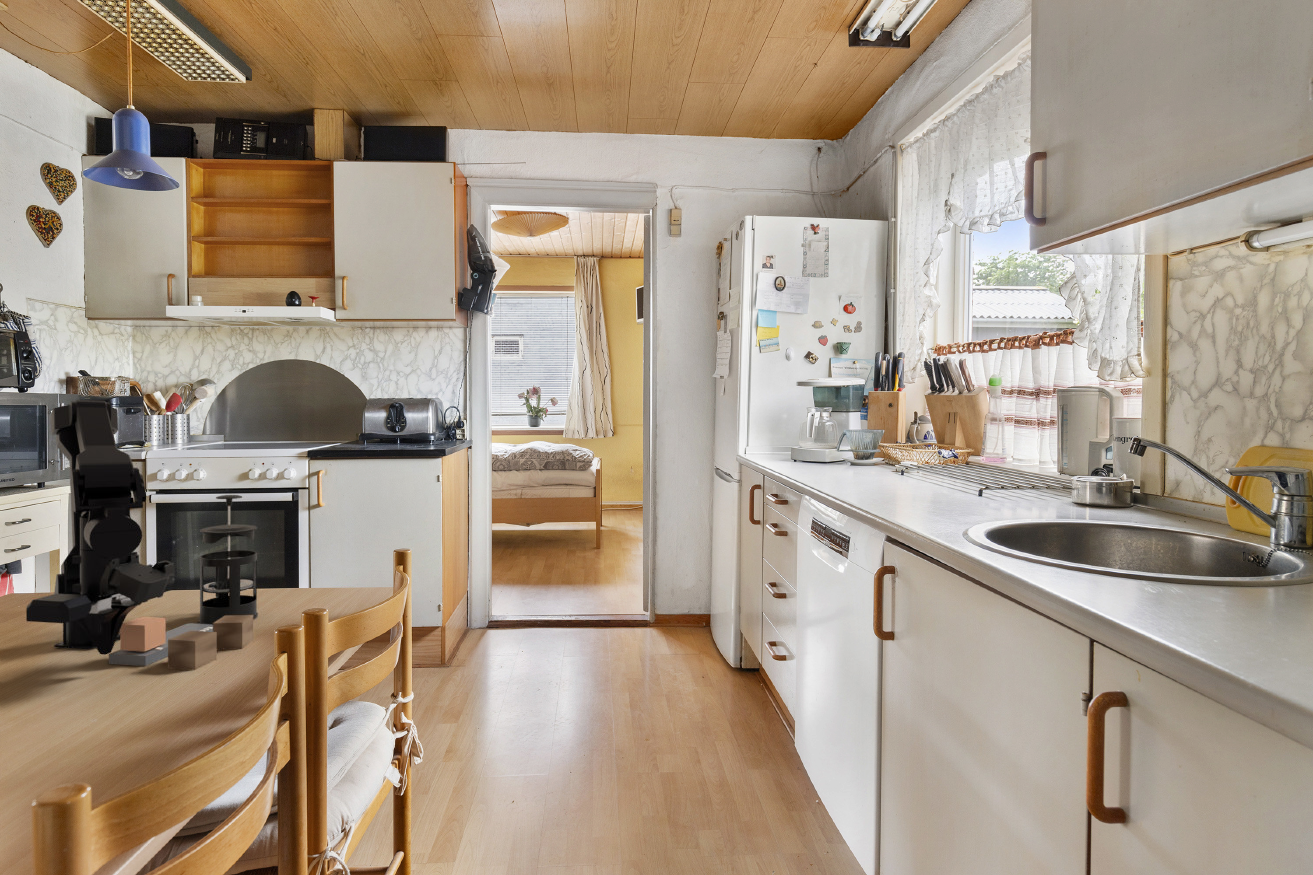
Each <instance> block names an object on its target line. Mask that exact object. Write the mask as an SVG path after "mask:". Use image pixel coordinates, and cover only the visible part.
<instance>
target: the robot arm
mask: <svg viewBox="0 0 1313 875" xmlns="http://www.w3.org/2000/svg"><path fill="white" fill-rule="evenodd" d="M118 411H119V410H118V409H117V408H115V407H114V406H112V405H111V403H110V402H108V401H105V400H91V399H90V400H85V399H84V400H83V399H82V400H81V399H76V400H74V401H69V403H68V404H66V405H62V406H57V407H54V408H53V409H52V412H51V415H50V434H51V435H53V436H54V435H55V438H56V447H57V449H58V450H59V451H60V452H61V453H62V454H63V455H64V457H65V458H66V459H67V460H68V461H69V486H70V487H69V488H70V511H71V512H70V513H71V540H72V548H71V550H70V551H69V553H68V554H67V556H66V558H65V559H64V560H63V562H62V563H61V565H60V573H58V574H57V573H56V576H55V577H56V578H55V583H54V584H55V585H54V593H53V594H48V595H46V596H42V597H39V598H35V599H32V600H31V601H30V602H29V603H28V604H27V605H26V607H25V608H26V612H25V614H26V615H25V616H26V617H25V620H26V622H33V623H34V622H35V623H51V624H62V639H63V640H62V641H59V642H56V643H54V644H53V648H59V649H60V648H61V649H76V650H92V649H96V651H98V653H99V655H104V656H105V655H109V654H110V653H112V651H113V649H114V647H115V646H114V645H115V644H116V641H117V640H119V639H120V640H121V633H120V629H121V626H122V624H123V623H125V620H126V618H127V616H128V614H129V613H131V611H133V610H134V609H135V608H137V607H138V606H141V605H142V604H143V603H147V602H148V601H150V600H153V599H156V598H157V599H159V598H162V597H163V596H164V593H166V592H170V591H172V590H173V584H174V583H175V580H176V579H175V577H176V571H175V570H176V569H175V563H174V562H171V561H169V560H166V559H165V560H162V561H158V562H156V563H155V564H154V565H153V564H150V563H149V564H147V565H145V564H142V563H141V562H140V555H139V554H138V551H136V550H137V549H138V547H139V546H140V544H141V543H142V540H143V539H142V538H143V530H142V528H141V526H140V524H139V523H137V521H135V520H134V519H133V518H132V517H131V510H134V509H143V508H144V503H146V501H147V492H146V486H145V482H144V476H143V475H142V474H141V473H140V469H139V468H138V467H134V462H133V461H132V458H131V456H130V455H129V454H128V453H126V452H124V451H122V450H120V449H118V446H117V443H116V439H115V435H116V434H117V432H118V431H119V418H118V416H119V414H118V413H119V412H118ZM132 495H133V497H132ZM119 633H120V634H119Z"/></svg>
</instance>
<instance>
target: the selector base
mask: <svg viewBox="0 0 1313 875" xmlns="http://www.w3.org/2000/svg"><path fill="white" fill-rule="evenodd" d="M188 631H204V632H213V625H212V624H199V623H193V622H192V623H191V622H190V623H189V622H188V623H186V624H183V625H180V626H178V627H176V628H173V629H170V630H167V631H166V642H165V644H162V645H160V646H157V647H155V648H152V649H150V650H147V651H145V652H144V651H126V650H121V648H120V649H118V650H116V651H113V652H111V653H109V654H108V664H109V665H122V666H123V665H125V666H126V665H127V666H137V667H138V666H142V667H145V666H146V667H147V666H148V665H151V664H153V663H156V662H158V661H160V660H163V659H165V658H168V639H171V638H173V637H176V636H178V635H181V634H183V633H186V632H188Z"/></svg>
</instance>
